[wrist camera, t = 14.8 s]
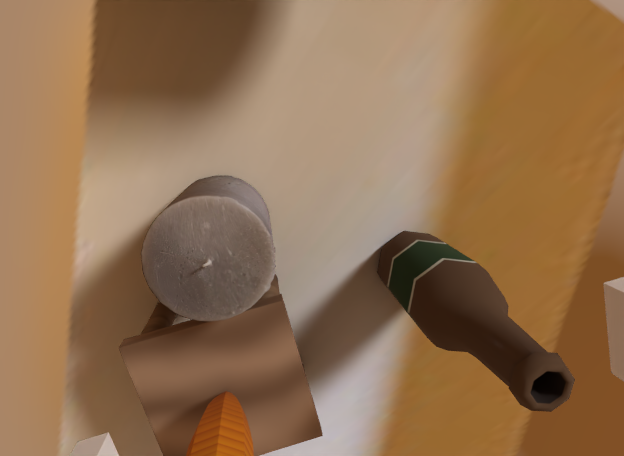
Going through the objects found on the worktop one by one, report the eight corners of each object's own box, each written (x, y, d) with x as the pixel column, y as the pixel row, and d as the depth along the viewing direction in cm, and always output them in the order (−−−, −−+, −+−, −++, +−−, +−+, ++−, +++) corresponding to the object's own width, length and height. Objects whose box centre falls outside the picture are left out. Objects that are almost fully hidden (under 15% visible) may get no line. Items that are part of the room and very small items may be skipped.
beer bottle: (455, 248, 48) (638, 362, 25) (417, 306, 49) (559, 465, 26) (399, 215, 47) (539, 304, 24) (361, 275, 48) (459, 417, 25)
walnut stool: (148, 300, 45) (118, 348, 36) (277, 263, 46) (282, 300, 37) (190, 411, 49) (174, 481, 39) (309, 375, 50) (322, 435, 40)
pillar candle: (167, 257, 45) (124, 320, 30) (183, 164, 43) (145, 184, 28) (260, 273, 46) (262, 341, 32) (280, 185, 44) (290, 213, 30)
